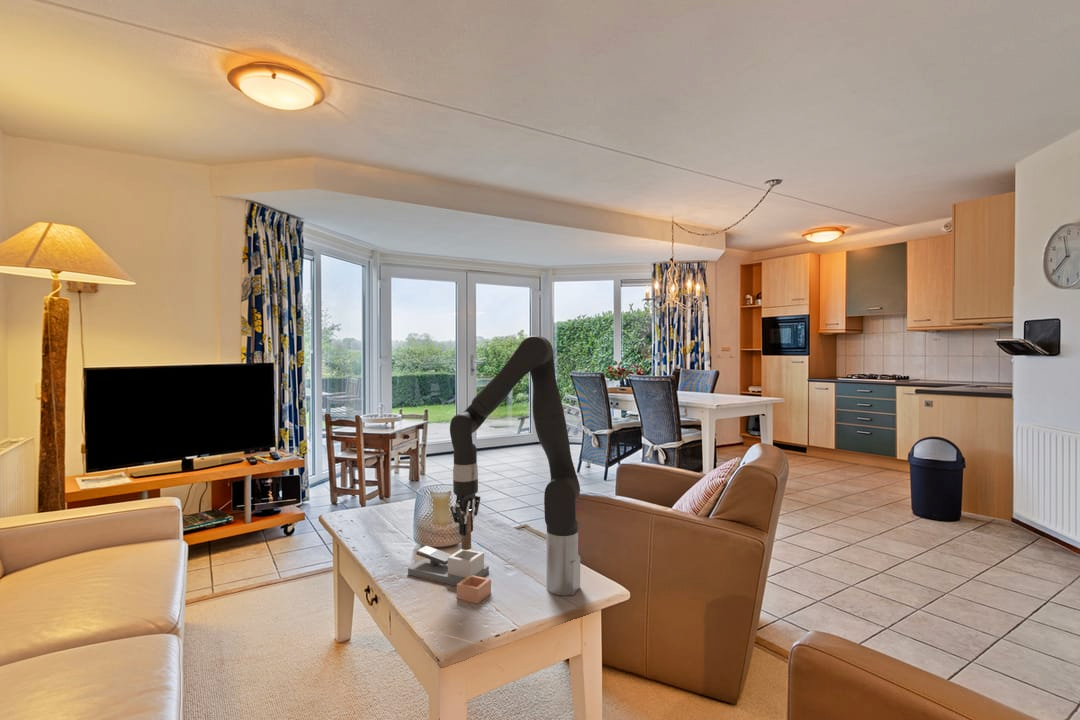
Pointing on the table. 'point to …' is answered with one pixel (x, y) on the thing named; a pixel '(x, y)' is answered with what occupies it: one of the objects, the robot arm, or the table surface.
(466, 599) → the holder
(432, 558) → the rocker switch
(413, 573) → the grey base slab
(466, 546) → the brown rectangular block
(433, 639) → the table surface
